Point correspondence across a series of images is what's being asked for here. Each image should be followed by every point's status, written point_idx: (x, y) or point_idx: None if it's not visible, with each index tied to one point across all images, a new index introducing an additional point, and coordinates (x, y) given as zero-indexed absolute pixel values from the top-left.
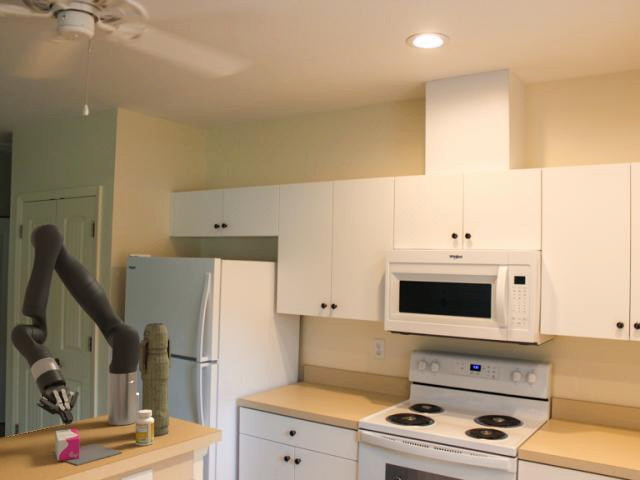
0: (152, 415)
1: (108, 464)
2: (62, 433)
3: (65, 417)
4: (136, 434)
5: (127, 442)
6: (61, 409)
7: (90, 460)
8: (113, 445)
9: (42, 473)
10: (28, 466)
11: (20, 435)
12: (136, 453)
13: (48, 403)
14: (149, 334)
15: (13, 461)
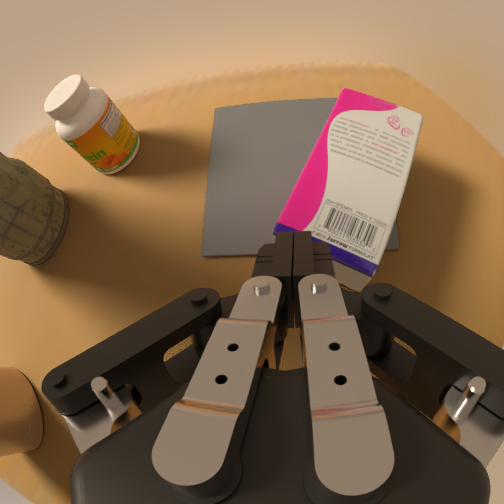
0: (24, 166)
1: (300, 64)
2: (374, 187)
3: (317, 253)
4: (122, 132)
5: (128, 195)
6: (334, 281)
7: (324, 100)
8: (172, 196)
9: (457, 118)
10: (479, 198)
11: None
12: (196, 91)
13: (458, 337)
14: None
15: (499, 288)
